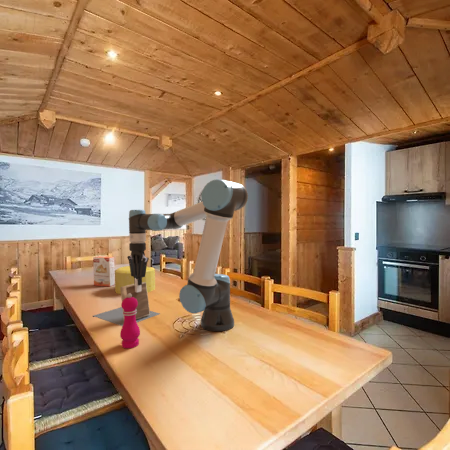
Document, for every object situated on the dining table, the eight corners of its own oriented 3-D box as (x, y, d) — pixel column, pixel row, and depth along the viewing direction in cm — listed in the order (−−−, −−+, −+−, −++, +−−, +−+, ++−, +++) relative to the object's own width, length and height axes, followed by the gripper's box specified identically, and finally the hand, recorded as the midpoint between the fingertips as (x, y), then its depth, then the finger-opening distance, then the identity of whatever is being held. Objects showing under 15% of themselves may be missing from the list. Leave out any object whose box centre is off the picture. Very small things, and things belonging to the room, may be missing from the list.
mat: (160, 314, 145) (160, 313, 145) (124, 328, 128) (124, 326, 128) (128, 305, 160) (128, 304, 160) (92, 316, 143) (92, 315, 143)
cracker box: (93, 285, 208) (92, 257, 207) (99, 284, 213) (98, 255, 213) (109, 287, 204) (109, 257, 203) (115, 285, 209) (114, 256, 209)
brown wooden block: (150, 314, 142) (146, 281, 143) (129, 321, 132) (125, 286, 133) (144, 314, 144) (140, 282, 145) (124, 321, 134) (120, 287, 135)
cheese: (160, 285, 208) (159, 264, 207) (146, 295, 182) (146, 271, 181) (125, 284, 210) (125, 264, 210) (107, 294, 184) (107, 271, 184)
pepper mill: (133, 339, 116) (132, 289, 115) (144, 344, 111) (143, 292, 111) (116, 345, 110) (115, 293, 110) (127, 351, 106) (126, 297, 105)
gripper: (122, 242, 137) (123, 291, 138) (139, 243, 130) (140, 295, 130) (135, 241, 143) (136, 288, 144) (153, 242, 136) (153, 292, 136)
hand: (138, 291), depth 137 cm, fingers closed
